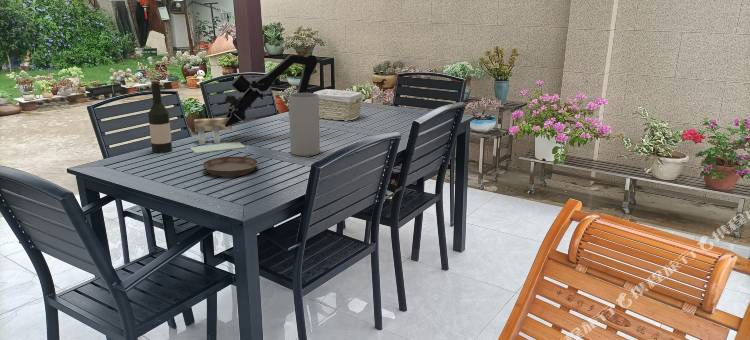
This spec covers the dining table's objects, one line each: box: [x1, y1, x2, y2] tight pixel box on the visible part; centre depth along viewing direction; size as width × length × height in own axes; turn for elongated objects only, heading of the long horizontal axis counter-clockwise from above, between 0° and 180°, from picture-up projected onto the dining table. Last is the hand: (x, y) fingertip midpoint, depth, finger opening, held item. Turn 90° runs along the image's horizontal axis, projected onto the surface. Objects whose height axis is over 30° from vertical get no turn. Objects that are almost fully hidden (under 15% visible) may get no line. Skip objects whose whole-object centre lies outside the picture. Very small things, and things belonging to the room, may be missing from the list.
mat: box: [189, 141, 247, 155], centre depth 246 cm, size 22×10×1 cm, turn 120°
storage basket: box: [313, 88, 363, 121], centre depth 310 cm, size 24×16×15 cm
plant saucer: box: [202, 155, 259, 178], centre depth 215 cm, size 21×21×3 cm
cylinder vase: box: [288, 92, 321, 157], centre depth 237 cm, size 12×12×25 cm
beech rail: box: [193, 117, 233, 133], centre depth 256 cm, size 16×4×5 cm, turn 110°
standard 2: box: [212, 125, 221, 144], centre depth 257 cm, size 2×8×8 cm, turn 20°
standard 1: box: [197, 126, 206, 146], centre depth 255 cm, size 2×8×8 cm, turn 20°
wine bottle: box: [147, 80, 173, 154], centre depth 236 cm, size 8×8×30 cm
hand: (224, 124), depth 257 cm, fingers open, 7 cm apart
